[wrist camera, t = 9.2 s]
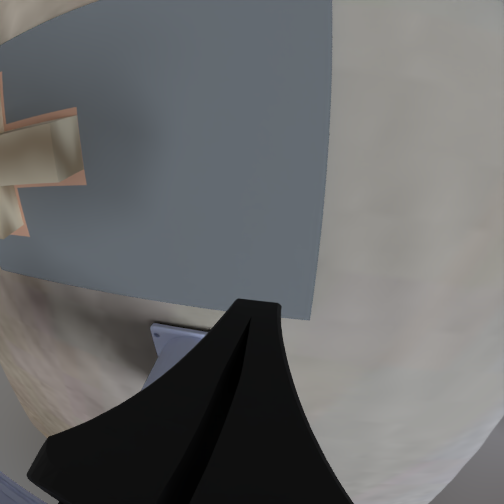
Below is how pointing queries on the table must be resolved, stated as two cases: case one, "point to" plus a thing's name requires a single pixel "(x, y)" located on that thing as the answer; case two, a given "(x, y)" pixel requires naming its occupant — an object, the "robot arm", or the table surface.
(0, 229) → the t block
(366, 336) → the table surface
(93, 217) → the mat
